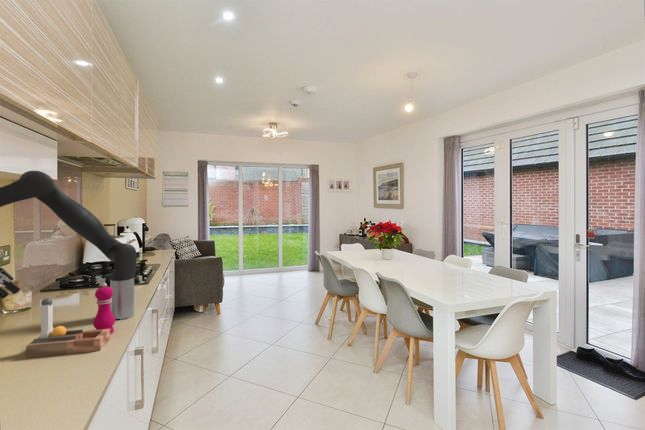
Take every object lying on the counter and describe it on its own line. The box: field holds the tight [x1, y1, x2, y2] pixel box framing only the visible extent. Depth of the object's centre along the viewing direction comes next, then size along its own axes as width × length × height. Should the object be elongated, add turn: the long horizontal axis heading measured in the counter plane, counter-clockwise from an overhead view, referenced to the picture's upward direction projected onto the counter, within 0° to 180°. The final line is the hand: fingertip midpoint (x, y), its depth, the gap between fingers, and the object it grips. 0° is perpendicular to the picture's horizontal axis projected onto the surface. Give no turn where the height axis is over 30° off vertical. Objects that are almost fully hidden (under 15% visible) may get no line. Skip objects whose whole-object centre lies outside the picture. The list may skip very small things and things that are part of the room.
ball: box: [52, 325, 67, 337], centre depth 113 cm, size 4×4×4 cm
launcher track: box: [25, 328, 111, 359], centre depth 114 cm, size 10×21×5 cm, turn 107°
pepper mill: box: [92, 282, 116, 335], centre depth 127 cm, size 7×7×20 cm
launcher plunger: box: [39, 297, 55, 338], centre depth 112 cm, size 4×3×14 cm
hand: (12, 293), depth 109 cm, fingers open, 5 cm apart
